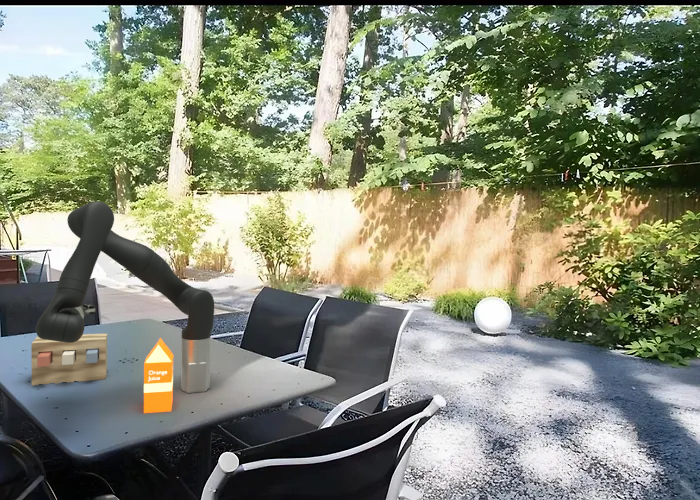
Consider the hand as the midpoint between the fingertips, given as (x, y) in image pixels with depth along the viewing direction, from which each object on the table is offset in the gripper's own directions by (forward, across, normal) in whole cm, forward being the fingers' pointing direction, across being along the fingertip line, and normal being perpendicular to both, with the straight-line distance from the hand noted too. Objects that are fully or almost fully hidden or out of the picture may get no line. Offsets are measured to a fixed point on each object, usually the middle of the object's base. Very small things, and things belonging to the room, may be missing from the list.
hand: (75, 305), depth 160 cm
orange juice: (-20, -24, +28) cm, 42 cm away
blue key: (+13, -4, +21) cm, 25 cm away
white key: (+14, +3, +21) cm, 25 cm away
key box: (+18, +3, +28) cm, 33 cm away
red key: (+13, +10, +21) cm, 27 cm away
